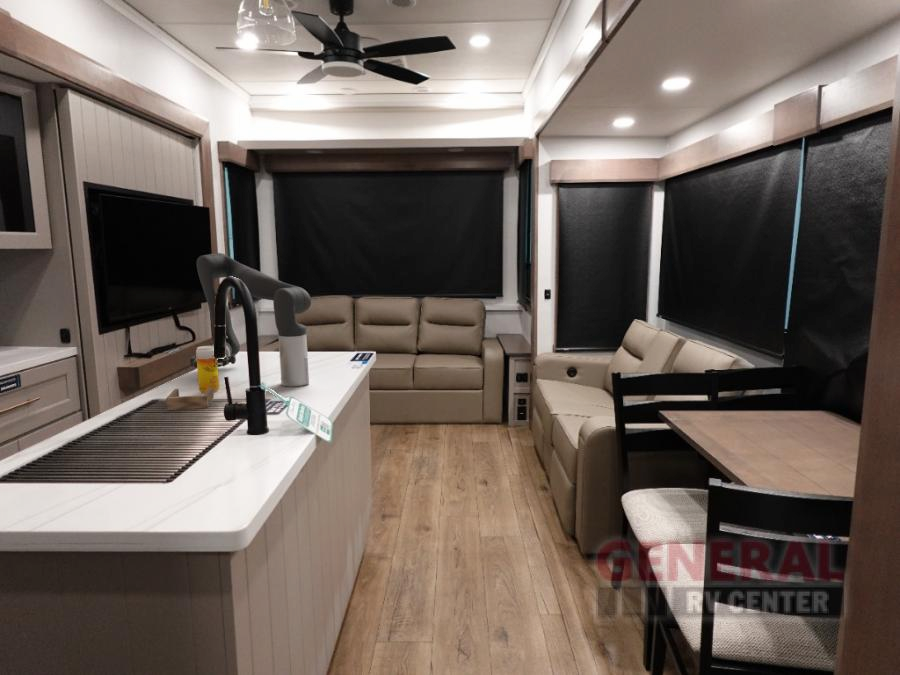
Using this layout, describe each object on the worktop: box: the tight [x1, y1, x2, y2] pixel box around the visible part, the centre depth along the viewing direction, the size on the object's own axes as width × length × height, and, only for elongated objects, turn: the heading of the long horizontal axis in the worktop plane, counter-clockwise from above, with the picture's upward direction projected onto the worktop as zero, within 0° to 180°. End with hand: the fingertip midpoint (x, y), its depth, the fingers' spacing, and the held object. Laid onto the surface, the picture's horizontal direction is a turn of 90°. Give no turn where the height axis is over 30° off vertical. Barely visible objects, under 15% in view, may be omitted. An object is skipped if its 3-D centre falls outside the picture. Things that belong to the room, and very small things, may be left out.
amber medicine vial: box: [195, 345, 220, 395], centre depth 178 cm, size 6×6×15 cm
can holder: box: [165, 387, 215, 411], centre depth 166 cm, size 11×11×4 cm
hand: (209, 364), depth 182 cm, fingers open, 8 cm apart
